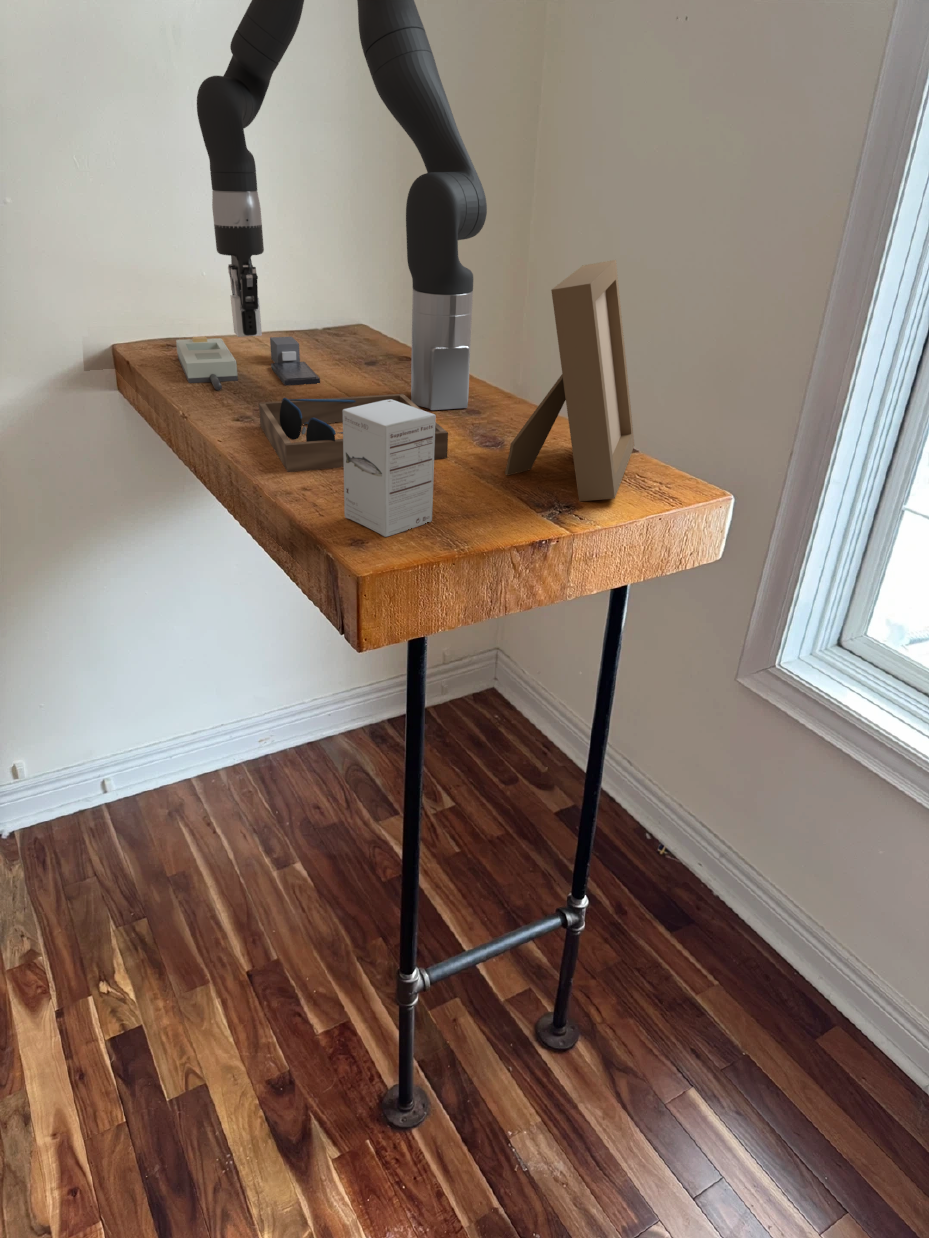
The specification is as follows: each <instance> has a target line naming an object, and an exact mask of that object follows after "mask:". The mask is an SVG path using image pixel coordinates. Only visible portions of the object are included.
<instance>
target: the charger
mask: <svg viewBox="0 0 929 1238" xmlns="http://www.w3.org/2000/svg"><path fill="white" fill-rule="evenodd" d="M246 302H252V300H251V297H246ZM230 304H231V314H232V325H233V333H234V334H235V335H236V336H237V337H242V338H243V337H258V336H262V335H263V334H262V332H263V331H262V319H261V311H260V310H261V307H260V306H261V305H260V299H259V297H258V309H256V311H255V315H256V327H257V334H256V335H245V334H244V333H243V326H242V315H241V310H240V300H239V298H238V297H237V296H236V295H232V294H231V295H230Z"/></svg>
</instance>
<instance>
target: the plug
mask: <svg viewBox="0 0 929 1238" xmlns="http://www.w3.org/2000/svg"><path fill="white" fill-rule="evenodd" d="M269 342H270V358H271V360H272V362H273V363H287V362H301V357H300V356H301V355H300V343H299V341H297V340H296V339H295V338H294V337H292V336H274V337H273V336H272V337H269Z"/></svg>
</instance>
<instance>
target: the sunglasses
mask: <svg viewBox="0 0 929 1238" xmlns="http://www.w3.org/2000/svg"><path fill="white" fill-rule="evenodd" d="M281 401H282V403H281V407H280V424H281V428H282V430H283V431H284V433H285V434H286V436H287V437H288V439H289V440H292V441H294V440H298V439H299V438H300V436H301V435H305V434H306V435H305V442H309V441H322V440H332V441H335V439H336V435H337V432H336V430H335V428H333V426H331V425H330V424H329V423H328V424H327V423H325V422H323V421H321V420H318V419H316V418H311V419H310V420H309V421H310V422H309V421H308V423H307V422H305V423H304V425H302V420H301V419H302V414H301V411H300V409H299V408H298V407H297V406H296V405H294V404H293V403H292V402H291V401H313V402H356V401H354V400H339V399H326V398H287V397H283V398H282V399H281ZM312 419H313V420H312ZM306 423H307V424H308V425H305V424H306ZM302 426H303V427H302ZM339 434H342V435H343V431H341V432H339Z"/></svg>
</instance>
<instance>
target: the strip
mask: <svg viewBox="0 0 929 1238" xmlns="http://www.w3.org/2000/svg"><path fill="white" fill-rule="evenodd" d="M175 342H176V343H175V344H176V345H175V346H176V353H177V358H178V361H179V364H180V365H181V368H182V370H183V372H184V375H185V378H186V380H187V382H188V384H197V383H211V384H212V386H213V387H214V388H213V389H214V390H216V391H221V390H222V388H223V385H222V384H221V382H235V381H239V378H238V376H239V375H238V366H237V360H236V359H235V357H234V355H233V354H232V352H231V351H230V349H229V348H228V346H227V344H226V343H225V342H224V340H223V339H222V337H221V338H215V337H214V338H207V336H206V335H205V336H192V337H191V338H188V339H175Z"/></svg>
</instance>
